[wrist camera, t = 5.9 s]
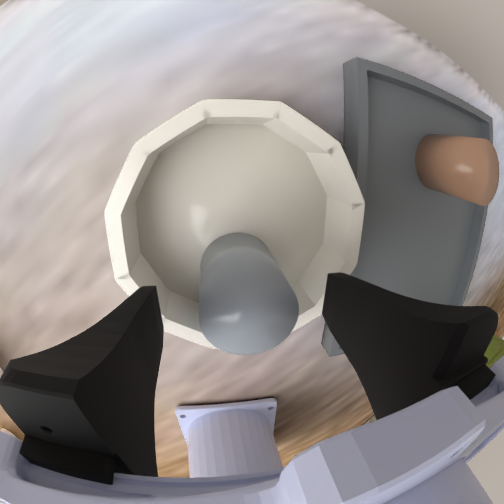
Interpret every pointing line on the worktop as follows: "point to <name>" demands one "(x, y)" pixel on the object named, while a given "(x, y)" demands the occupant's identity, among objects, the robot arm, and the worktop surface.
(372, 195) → the tray
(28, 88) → the worktop surface
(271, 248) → the bowl
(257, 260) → the grey rounded cylinder
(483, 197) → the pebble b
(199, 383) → the worktop surface
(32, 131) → the worktop surface
